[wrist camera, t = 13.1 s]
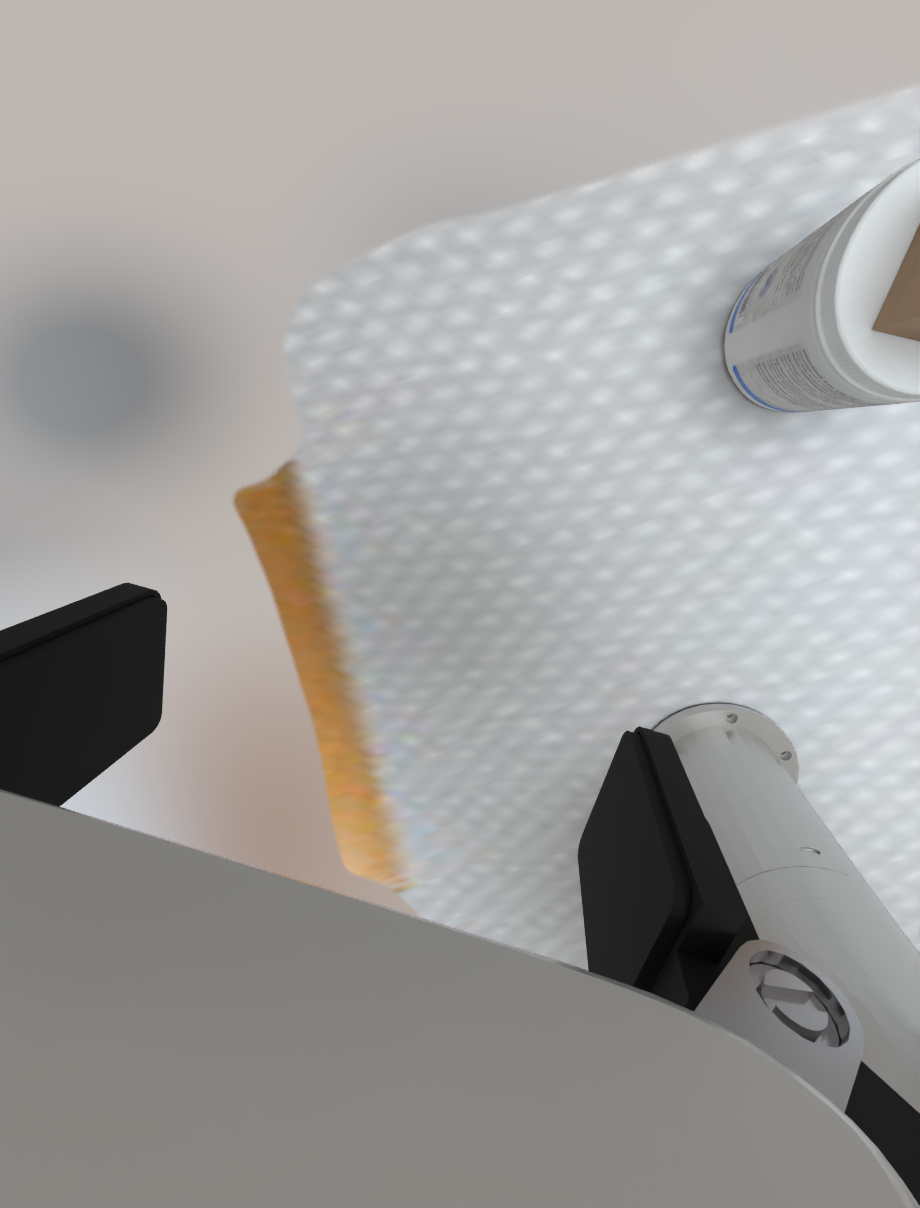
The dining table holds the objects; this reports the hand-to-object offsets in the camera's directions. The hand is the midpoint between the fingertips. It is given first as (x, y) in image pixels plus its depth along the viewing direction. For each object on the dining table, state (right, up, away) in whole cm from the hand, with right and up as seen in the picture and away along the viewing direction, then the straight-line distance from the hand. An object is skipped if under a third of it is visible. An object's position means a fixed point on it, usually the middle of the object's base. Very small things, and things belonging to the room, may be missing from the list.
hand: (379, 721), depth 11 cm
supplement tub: (+24, +20, +25) cm, 40 cm away
